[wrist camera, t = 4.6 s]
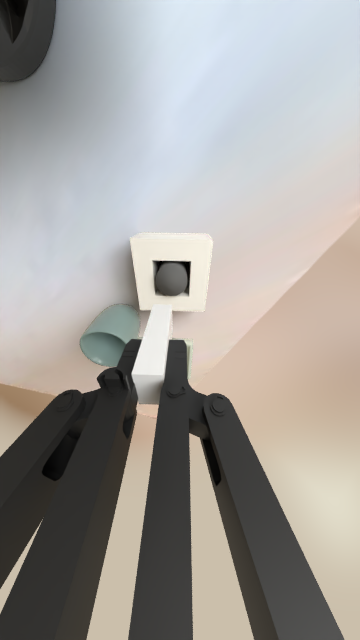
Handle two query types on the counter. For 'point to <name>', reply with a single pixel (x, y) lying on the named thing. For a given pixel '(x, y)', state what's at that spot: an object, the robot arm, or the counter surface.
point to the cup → (110, 334)
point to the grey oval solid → (172, 277)
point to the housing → (172, 248)
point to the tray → (189, 354)
